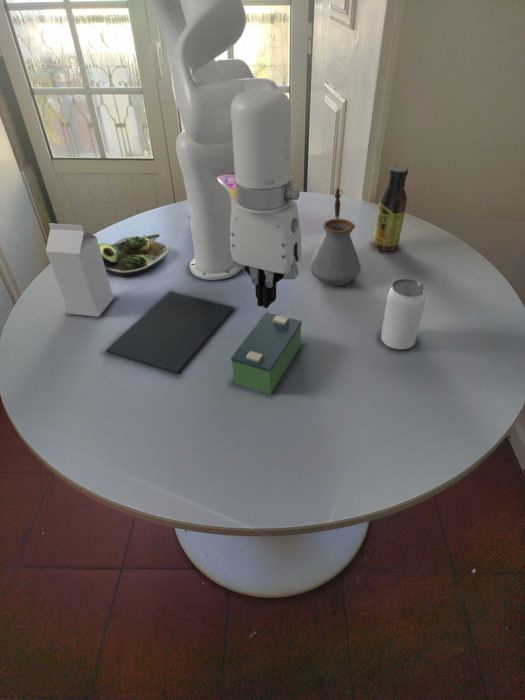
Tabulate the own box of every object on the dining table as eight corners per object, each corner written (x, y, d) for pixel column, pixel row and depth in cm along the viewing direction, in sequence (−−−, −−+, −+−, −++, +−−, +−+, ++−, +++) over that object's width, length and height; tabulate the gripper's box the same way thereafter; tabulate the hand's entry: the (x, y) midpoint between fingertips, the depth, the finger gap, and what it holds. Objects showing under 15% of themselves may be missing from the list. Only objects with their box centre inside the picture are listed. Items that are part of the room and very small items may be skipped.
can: (416, 333, 91) (429, 280, 84) (413, 353, 87) (426, 300, 79) (383, 327, 93) (392, 275, 85) (378, 347, 88) (387, 293, 81)
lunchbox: (233, 383, 82) (266, 336, 92) (270, 395, 80) (301, 346, 89) (230, 355, 78) (266, 309, 88) (270, 367, 75) (302, 318, 85)
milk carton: (99, 317, 98) (73, 234, 86) (68, 314, 99) (38, 231, 87) (114, 298, 104) (91, 217, 91) (84, 296, 105) (58, 215, 93)
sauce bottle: (370, 241, 121) (380, 162, 108) (393, 240, 121) (407, 161, 108) (376, 254, 116) (388, 173, 103) (401, 252, 116) (416, 171, 103)
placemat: (170, 293, 105) (170, 291, 104) (233, 309, 99) (233, 307, 99) (106, 352, 90) (106, 350, 89) (177, 374, 84) (176, 372, 84)
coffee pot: (360, 291, 103) (368, 228, 93) (308, 289, 104) (311, 226, 95) (356, 245, 119) (362, 187, 110) (311, 244, 120) (313, 186, 111)
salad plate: (138, 232, 128) (135, 216, 125) (186, 249, 120) (184, 233, 117) (81, 262, 116) (75, 245, 113) (130, 283, 108) (125, 266, 105)
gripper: (323, 191, 64) (317, 301, 76) (229, 176, 70) (237, 281, 82) (302, 212, 59) (299, 327, 71) (202, 194, 65) (215, 304, 77)
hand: (266, 302), depth 76 cm, fingers closed
